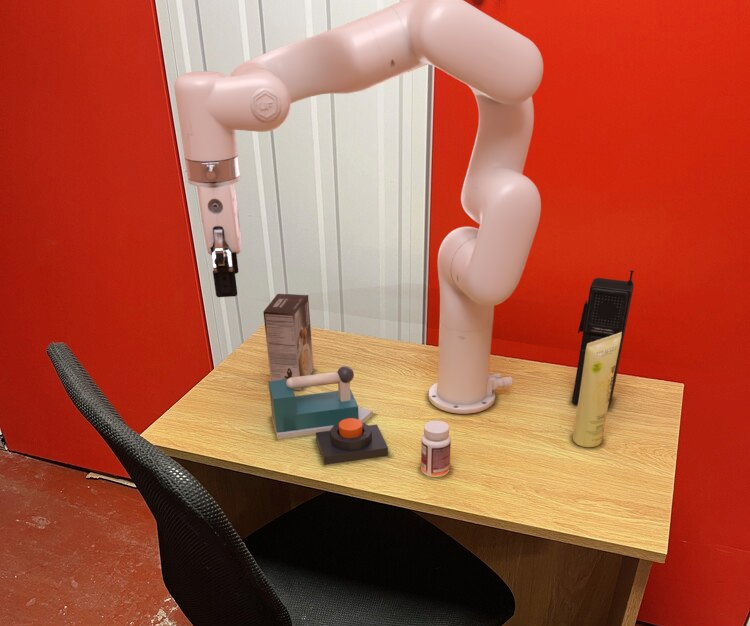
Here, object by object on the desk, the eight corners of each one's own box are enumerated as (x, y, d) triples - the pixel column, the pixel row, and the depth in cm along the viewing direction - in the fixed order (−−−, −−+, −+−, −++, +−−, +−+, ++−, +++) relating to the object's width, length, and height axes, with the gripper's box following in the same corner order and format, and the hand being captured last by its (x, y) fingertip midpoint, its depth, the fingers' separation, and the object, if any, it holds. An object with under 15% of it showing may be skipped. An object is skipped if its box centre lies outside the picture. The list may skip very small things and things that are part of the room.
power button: (359, 425, 134) (359, 416, 133) (364, 437, 131) (364, 428, 130) (337, 428, 133) (336, 419, 132) (341, 440, 130) (341, 431, 129)
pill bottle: (453, 466, 129) (456, 422, 124) (442, 480, 126) (445, 436, 121) (427, 459, 131) (428, 416, 126) (415, 473, 127) (416, 430, 122)
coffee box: (284, 367, 159) (277, 292, 149) (314, 370, 158) (309, 294, 148) (270, 388, 152) (262, 310, 142) (302, 391, 151) (295, 313, 141)
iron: (368, 405, 146) (367, 354, 140) (377, 425, 140) (376, 373, 134) (272, 418, 143) (266, 366, 136) (277, 439, 137) (272, 386, 130)
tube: (600, 452, 132) (620, 346, 120) (569, 447, 133) (586, 342, 122) (602, 435, 136) (622, 331, 125) (573, 431, 137) (590, 328, 126)
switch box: (376, 432, 138) (376, 415, 136) (387, 456, 132) (387, 438, 130) (316, 440, 136) (314, 423, 134) (324, 465, 130) (323, 447, 128)
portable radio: (565, 404, 145) (585, 273, 130) (571, 389, 150) (591, 262, 135) (608, 411, 143) (633, 279, 128) (613, 396, 147) (637, 267, 132)
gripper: (238, 184, 105) (251, 304, 116) (240, 154, 119) (252, 264, 129) (182, 186, 105) (200, 307, 115) (190, 156, 119) (206, 266, 129)
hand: (227, 284), depth 122 cm, fingers open, 9 cm apart
